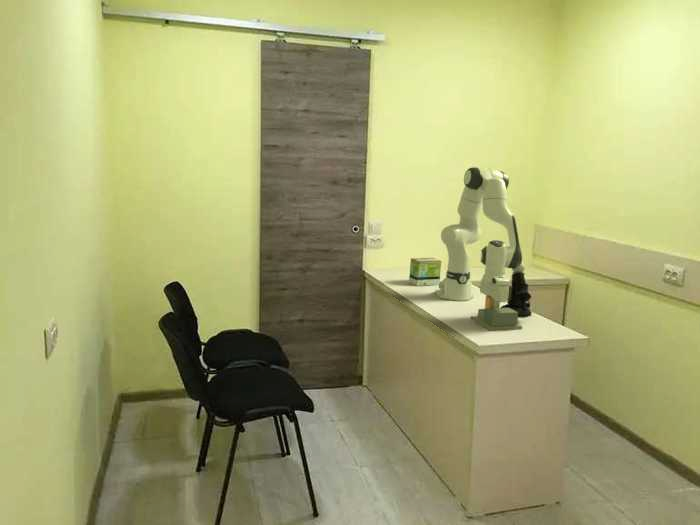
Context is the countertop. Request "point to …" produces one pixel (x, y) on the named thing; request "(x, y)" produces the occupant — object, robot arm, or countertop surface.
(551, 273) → the countertop surface
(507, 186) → the robot arm
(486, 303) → the yellow box green face
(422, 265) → the tea box
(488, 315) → the green plate with frame
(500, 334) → the countertop surface
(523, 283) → the sculpture
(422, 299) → the countertop surface
